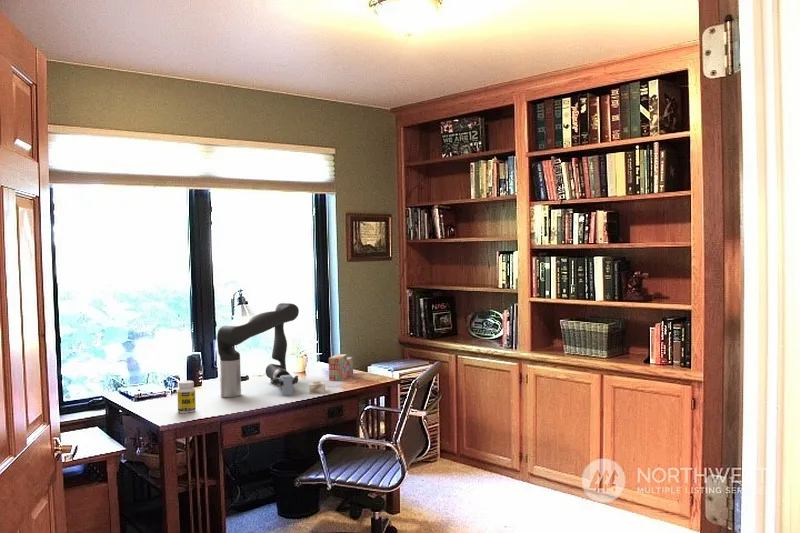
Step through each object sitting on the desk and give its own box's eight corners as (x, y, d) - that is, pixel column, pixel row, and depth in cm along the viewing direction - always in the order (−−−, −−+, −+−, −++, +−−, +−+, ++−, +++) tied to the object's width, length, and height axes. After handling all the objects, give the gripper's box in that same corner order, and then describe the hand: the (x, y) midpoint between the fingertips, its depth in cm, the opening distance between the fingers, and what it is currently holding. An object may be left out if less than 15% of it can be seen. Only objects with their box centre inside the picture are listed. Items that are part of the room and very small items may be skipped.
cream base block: (309, 394, 311) (309, 385, 311) (309, 391, 318) (309, 381, 318) (325, 393, 312) (324, 384, 312) (324, 390, 319) (324, 381, 319)
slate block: (283, 396, 307) (282, 377, 307) (281, 394, 311) (281, 375, 311) (292, 395, 309) (292, 376, 308) (291, 393, 313) (290, 374, 313)
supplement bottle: (181, 414, 276) (180, 384, 276) (175, 411, 282) (174, 381, 281) (198, 411, 280) (197, 381, 280) (192, 408, 286) (191, 379, 286)
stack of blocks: (342, 373, 362) (342, 351, 362) (353, 373, 361) (352, 351, 361) (329, 381, 342) (328, 357, 341) (340, 381, 340) (339, 357, 340)
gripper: (267, 370, 321) (272, 376, 305) (295, 368, 326) (302, 373, 310) (267, 385, 321) (273, 392, 305) (296, 383, 326) (303, 389, 310)
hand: (288, 383), depth 307 cm, fingers closed on slate block, 4 cm apart
